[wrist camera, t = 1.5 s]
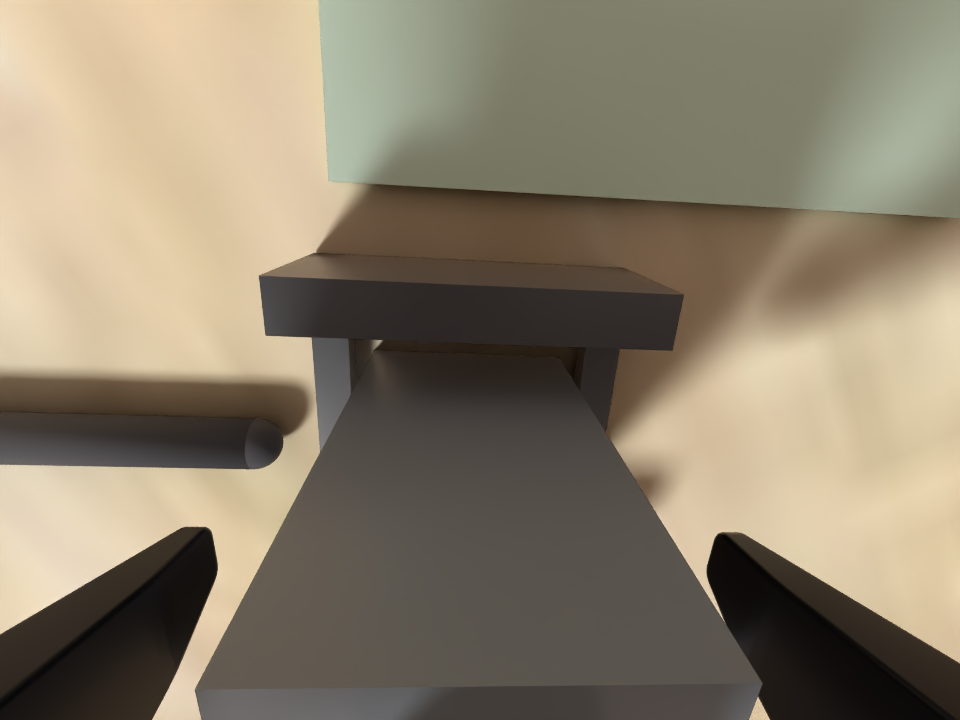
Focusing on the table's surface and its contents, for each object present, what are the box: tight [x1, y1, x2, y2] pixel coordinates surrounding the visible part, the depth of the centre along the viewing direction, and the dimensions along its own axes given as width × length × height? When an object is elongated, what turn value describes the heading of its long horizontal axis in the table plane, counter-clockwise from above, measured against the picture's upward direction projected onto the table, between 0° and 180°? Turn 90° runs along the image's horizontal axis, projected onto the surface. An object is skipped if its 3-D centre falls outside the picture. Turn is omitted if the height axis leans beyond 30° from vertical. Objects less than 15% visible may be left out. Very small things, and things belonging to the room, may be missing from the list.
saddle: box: [259, 253, 684, 452], centre depth 10 cm, size 7×9×3 cm
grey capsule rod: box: [0, 412, 283, 469], centre depth 11 cm, size 9×1×1 cm, turn 87°
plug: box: [195, 350, 763, 720], centre depth 8 cm, size 4×4×9 cm
